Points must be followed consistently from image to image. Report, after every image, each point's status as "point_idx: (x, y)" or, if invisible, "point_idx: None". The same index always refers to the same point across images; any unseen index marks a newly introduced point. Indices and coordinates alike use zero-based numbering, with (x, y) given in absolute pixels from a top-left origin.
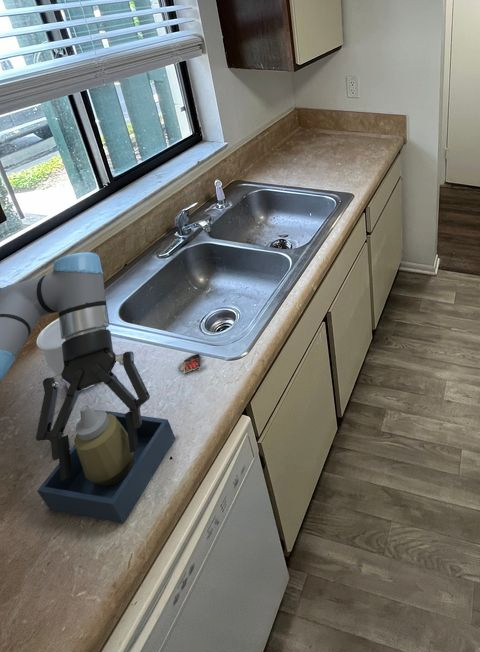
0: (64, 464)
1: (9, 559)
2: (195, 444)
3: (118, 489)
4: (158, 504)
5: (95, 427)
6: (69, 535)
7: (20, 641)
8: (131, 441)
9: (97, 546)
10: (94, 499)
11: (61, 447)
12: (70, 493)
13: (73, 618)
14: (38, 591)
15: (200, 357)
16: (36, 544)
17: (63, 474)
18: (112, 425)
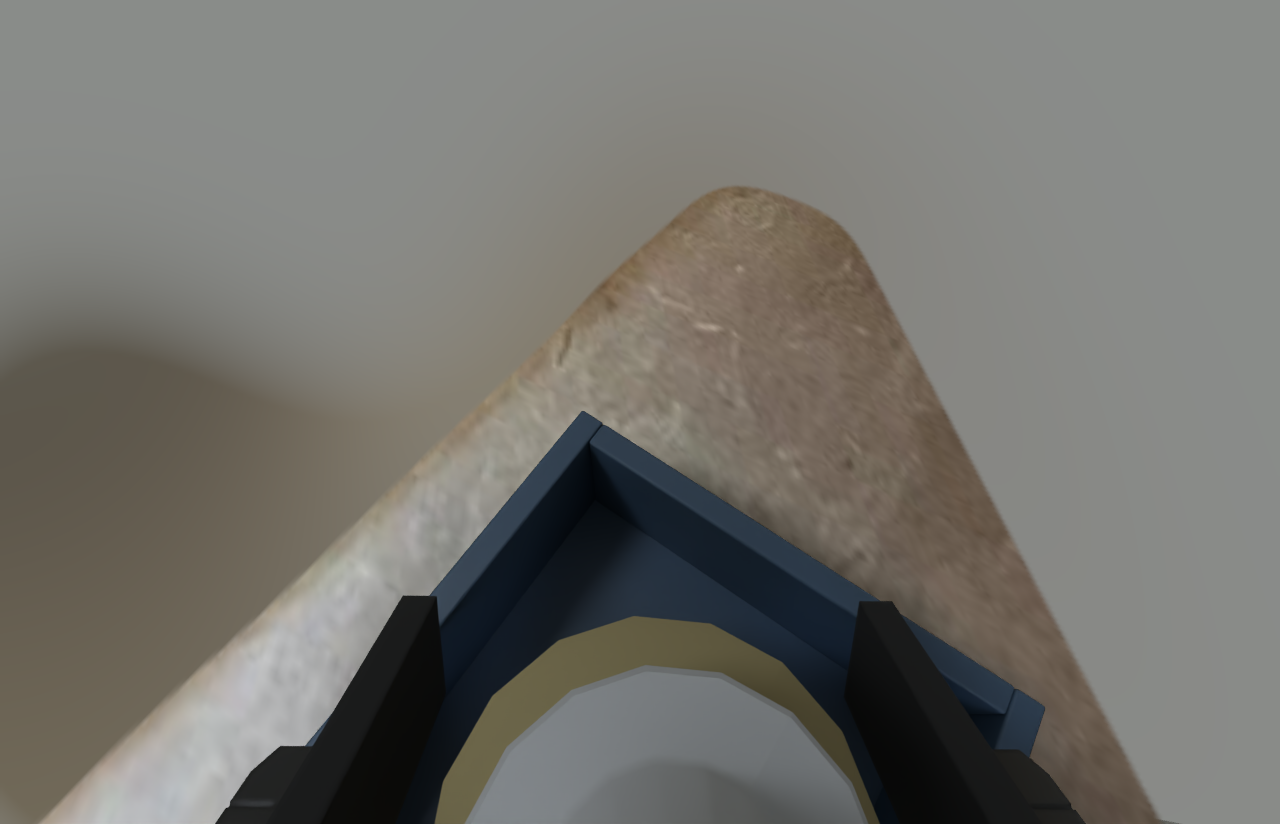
0: (904, 675)
1: (1015, 551)
2: (221, 733)
3: (557, 473)
4: (455, 491)
5: (589, 727)
6: (801, 536)
7: (853, 290)
8: (388, 646)
9: (681, 442)
10: (676, 477)
11: (997, 806)
12: (819, 580)
13: (718, 278)
14: (851, 390)
15: None
16: (928, 563)
17: (888, 625)
18: (460, 815)
